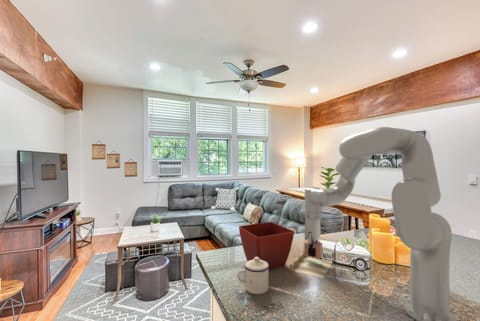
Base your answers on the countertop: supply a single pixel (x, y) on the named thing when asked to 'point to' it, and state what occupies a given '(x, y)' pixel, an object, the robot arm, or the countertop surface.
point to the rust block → (318, 249)
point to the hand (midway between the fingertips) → (313, 253)
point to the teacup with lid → (256, 276)
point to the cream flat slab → (310, 265)
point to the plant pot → (267, 243)
